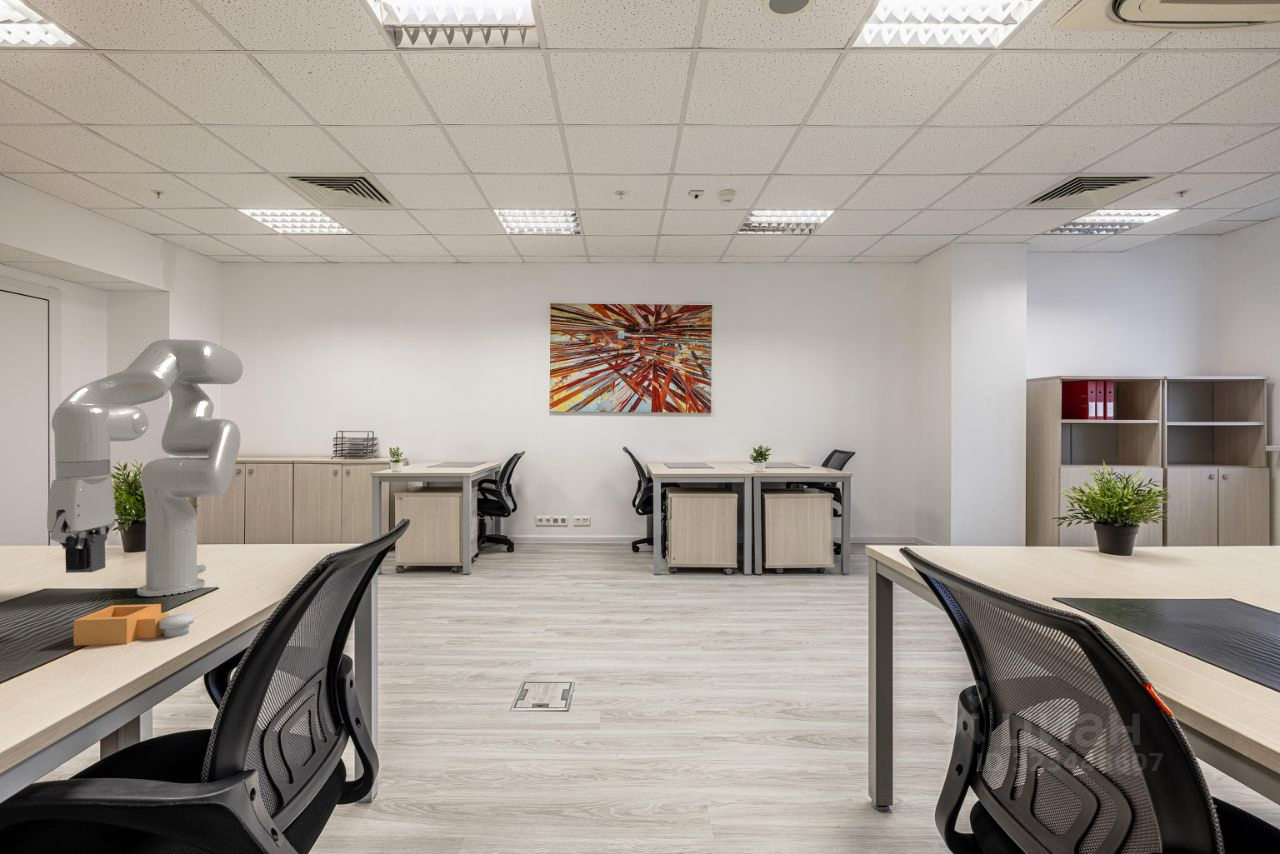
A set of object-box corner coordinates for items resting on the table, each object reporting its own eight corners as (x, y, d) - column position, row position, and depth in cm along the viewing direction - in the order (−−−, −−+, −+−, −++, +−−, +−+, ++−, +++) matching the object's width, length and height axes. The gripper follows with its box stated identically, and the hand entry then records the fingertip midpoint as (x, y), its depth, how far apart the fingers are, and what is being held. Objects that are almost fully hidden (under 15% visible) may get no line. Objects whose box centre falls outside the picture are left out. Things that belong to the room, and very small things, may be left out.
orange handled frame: (73, 645, 102) (73, 620, 102) (112, 628, 111) (112, 605, 111) (175, 641, 104) (175, 616, 104) (205, 625, 113) (205, 602, 113)
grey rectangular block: (78, 568, 111) (77, 534, 111) (107, 567, 112) (107, 534, 112) (63, 572, 108) (62, 538, 108) (94, 572, 109) (93, 537, 108)
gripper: (97, 466, 117) (99, 556, 118) (20, 475, 101) (22, 579, 101) (137, 465, 118) (139, 555, 119) (67, 475, 102) (70, 578, 102)
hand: (85, 565), depth 110 cm, fingers closed on grey rectangular block, 3 cm apart
